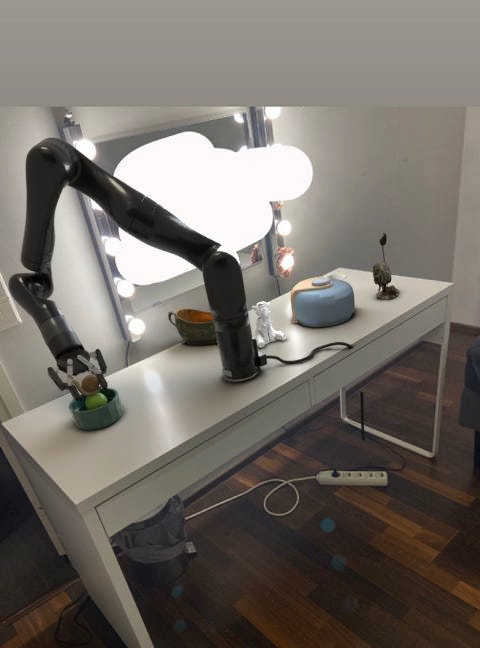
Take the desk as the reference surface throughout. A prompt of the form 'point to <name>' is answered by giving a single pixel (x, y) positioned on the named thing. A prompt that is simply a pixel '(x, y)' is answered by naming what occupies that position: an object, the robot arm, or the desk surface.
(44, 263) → the robot arm
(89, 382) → the snail figurine
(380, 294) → the plant with pod
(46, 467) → the desk surface
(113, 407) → the bowl
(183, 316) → the cup
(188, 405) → the desk surface
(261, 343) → the seated beast figurine
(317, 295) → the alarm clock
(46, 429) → the desk surface
